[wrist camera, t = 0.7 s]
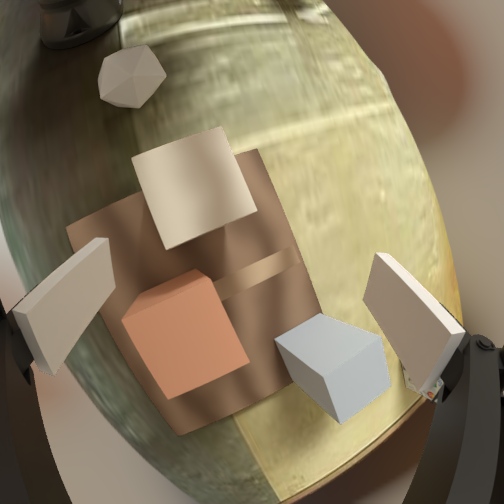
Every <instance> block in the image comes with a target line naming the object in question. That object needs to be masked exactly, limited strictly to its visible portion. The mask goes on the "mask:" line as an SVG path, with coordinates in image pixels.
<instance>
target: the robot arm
mask: <svg viewBox="0 0 504 504" xmlns="http://www.w3.org/2000/svg"><path fill="white" fill-rule="evenodd" d="M38 1H39V4H40V7H41V15H40V36H41V39H42V41H43V43H44V45H45V46H46V47H48V48H50V49H67V48H71V47H75V46H78V45H81V44H83V43H86V42H88V41H90V40H92V39H94V38H96V37H98V36H99V35H101V34H102V33H104V32H105V31H107V30H108V29H109V28H111V27H112V26H113V25H114V24H115V23H116V22H117V21H118V19H119V18H120V17H121V15H122V12H123V0H38ZM115 288H116V286H115V280H114V275H113V268H112V262H111V255H110V247H109V239H108V238H94V239H93V240H92V241H91V242H89V243H88V244H87V245H85V246H84V247H83V248H82V249H80V250H79V251H78V252H77V253H75V254H74V255H73V256H72V257H70V258H69V259H68V260H67V261H65V262H64V263H63V264H62V265H61V266H60V267H58V268H57V269H56V270H55V271H54V272H52V273H51V274H50V275H49V276H48V277H47V278H46V279H44V280H43V281H42V282H41V283H40V284H38V285H36V286H35V287H34V288H33V289H32V290H31V291H30V293H28V294H27V295H26V296H25V297H24V298H22V299H21V300H20V301H19V302H18V303H17V304H16V305H15V306H14V307H13V308H12V309H11V310H10V311H9V312H8V313H7V314H6V313H5V310H4V307H3V305H2V302H1V299H0V504H72V502H71V500H70V497H69V495H68V493H67V491H66V489H65V486H64V484H63V481H62V479H61V477H60V474H59V471H58V469H57V466H56V463H55V460H54V458H53V455H52V452H51V449H50V445H49V442H48V439H47V435H46V432H45V428H44V424H43V420H42V416H41V412H40V407H39V402H38V397H37V392H36V387H35V380H34V374H33V370H32V368H31V366H30V364H31V363H32V362H33V360H34V361H35V363H36V364H37V366H38V368H39V370H40V371H41V372H44V373H47V374H49V375H52V376H55V375H56V373H57V371H58V370H59V368H60V366H61V365H62V363H63V362H64V360H65V359H66V357H67V355H68V354H69V352H70V351H71V349H72V348H73V346H74V345H75V343H76V342H77V340H78V339H79V337H80V336H81V334H82V333H83V332H84V330H85V329H86V327H87V326H88V324H89V323H90V322H91V320H92V319H93V317H94V316H95V315H96V313H97V312H98V310H99V309H100V308H101V306H102V305H103V304H104V302H105V301H106V300H107V298H108V297H109V296H110V294H111V293H112V292H113V290H114V289H115ZM363 301H364V303H365V304H366V306H367V307H368V309H369V310H370V312H371V314H372V315H373V317H374V318H375V320H376V321H377V323H378V325H379V326H380V328H381V329H382V331H383V333H384V334H385V336H386V337H387V339H388V341H389V342H390V344H391V346H392V347H393V349H394V351H395V352H396V354H397V356H398V357H399V359H400V361H401V363H402V364H403V366H404V368H405V369H406V371H407V373H408V375H409V376H410V378H411V380H412V382H413V384H414V385H415V387H416V389H417V391H418V392H421V391H425V390H428V389H432V388H433V387H434V386H435V384H436V383H437V381H438V379H439V378H440V377H441V379H442V381H443V382H444V383H443V385H442V386H441V388H440V389H439V390H438V392H437V393H436V395H435V396H434V397H433V399H432V401H431V403H433V402H434V401H435V400H436V399H437V403H436V409H435V412H434V416H433V420H432V424H431V428H430V431H429V435H428V438H427V442H426V445H425V448H424V451H423V454H422V457H421V460H420V462H419V465H418V468H417V470H416V473H415V475H414V478H413V480H412V483H411V485H410V488H409V490H408V492H407V494H406V496H405V499H404V501H403V503H402V504H504V395H503V391H504V346H503V348H496V347H495V345H494V344H493V342H492V341H490V340H489V339H488V338H486V337H484V336H482V335H473V336H471V335H470V334H469V333H468V332H467V330H466V329H465V328H464V327H463V326H462V325H461V324H460V323H459V322H458V320H457V319H454V316H453V315H452V314H451V313H449V311H448V310H447V309H446V308H445V307H444V306H443V305H442V304H441V303H439V302H438V301H437V300H436V299H435V298H434V297H433V296H432V295H431V294H430V293H429V292H428V291H427V290H426V289H425V288H424V287H423V286H422V285H421V284H420V283H419V282H418V281H417V280H416V279H415V278H414V277H413V276H412V275H411V274H410V273H409V272H407V271H406V270H405V269H404V268H403V267H402V266H401V265H400V264H399V263H398V262H397V261H396V260H395V259H394V258H392V257H391V256H390V255H389V254H388V253H376V252H375V256H374V260H373V264H372V268H371V272H370V275H369V279H368V283H367V287H366V290H365V294H364V297H363Z"/></svg>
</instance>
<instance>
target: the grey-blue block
mask: <svg viewBox="0 0 504 504" xmlns="http://www.w3.org/2000/svg"><path fill="white" fill-rule="evenodd" d="M274 340H275V342H276V345H277V347H278V349H279V351H280V354H281V356H282V358H283V360H284V363H285V365H286V367H287V369H288V372H289V374H290V376H291V378H292V380H293V381H294V382H295V383H296V384H297V385H298V386H299V387H300V388H301V389H302V390H303V391H304V392H305V393H306V394H307V395H308V396H309V397H311V398H312V399H313V400H314V401H315V402H316V403H317V404H318V405H319V406H320V407H321V408H322V409H324V410H325V411H326V412H327V413H328V414H329V415H330V416H331V417H332V418H334V419H335V420H336V421H337V422H338V423H339V424H340V425H341V424H342V423H344V422H345V421H347V420H348V419H349V418H351V417H352V416H354V415H355V414H356V413H358V412H359V411H360V410H362V409H363V408H364V407H366V406H367V405H368V404H370V403H371V402H372V401H374V400H375V399H376V398H377V397H379V396H380V395H381V394H382V393H383V392H385V391H386V390H387V389H388V388H389V387H391V383H390V377H389V372H388V367H387V362H386V357H385V352H384V347H383V343H382V338H381V336H379V335H377V334H374V333H371V332H368V331H366V330H363V329H360V328H358V327H355V326H352V325H350V324H347V323H344V322H342V321H339V320H337V319H334V318H331V317H329V316H326V315H324V314H321V313H319V314H317V315H316V316H314V317H312V318H310V319H309V320H307V321H305V322H304V323H302V324H300V325H298V326H297V327H295V328H293V329H291V330H290V331H288V332H286V333H284V334H282V335H281V336H279V337H277V338H275V339H274Z"/></svg>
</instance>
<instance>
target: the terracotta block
mask: <svg viewBox="0 0 504 504" xmlns="http://www.w3.org/2000/svg"><path fill="white" fill-rule="evenodd" d="M121 321H122V323H123V325H124V327H125V328H126V330H127V332H128V334H129V336H130V338H131V340H132V342H133V343H134V345H135V347H136V349H137V350H138V352H139V354H140V356H141V357H142V359H143V361H144V363H145V364H146V366H147V368H148V369H149V371H150V372H151V374H152V376H153V377H154V379H155V380H156V382H157V384H158V385H159V387H160V388H161V390H162V391H163V393H164V394H165V396H166V397H167V399H168V400H169V399H171V398H174V397H176V396H178V395H181V394H183V393H185V392H188V391H190V390H192V389H195V388H197V387H199V386H201V385H204V384H206V383H208V382H210V381H212V380H215V379H217V378H219V377H221V376H223V375H225V374H227V373H229V372H231V371H233V370H236V369H238V368H240V367H242V366H244V365H246V364H248V363H249V362H250V361H249V359H248V357H247V355H246V353H245V351H244V349H243V347H242V345H241V343H240V341H239V339H238V337H237V334H236V332H235V330H234V328H233V326H232V324H231V322H230V320H229V318H228V316H227V313H226V311H225V309H224V307H223V305H222V303H221V301H220V298H219V296H218V294H217V292H216V290H215V287H214V285H213V283H212V281H211V279H210V278H208V277H207V276H206V275H204V274H203V273H201V272H200V271H199V270H197V269H196V268H195V269H193V270H191V271H189V272H186V273H184V274H182V275H180V276H178V277H175V278H173V279H171V280H169V281H167V282H164V283H162V284H160V285H158V286H156V287H154V288H151V289H149V290H147V291H145V292H143V293H140V294H139V295H138V297H137V298H136V300H135V301H134V302H133V304H132V305H131V307H130V308H129V310H128V311H127V312H126V314H125V315H124V317H123V318H122V320H121Z"/></svg>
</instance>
